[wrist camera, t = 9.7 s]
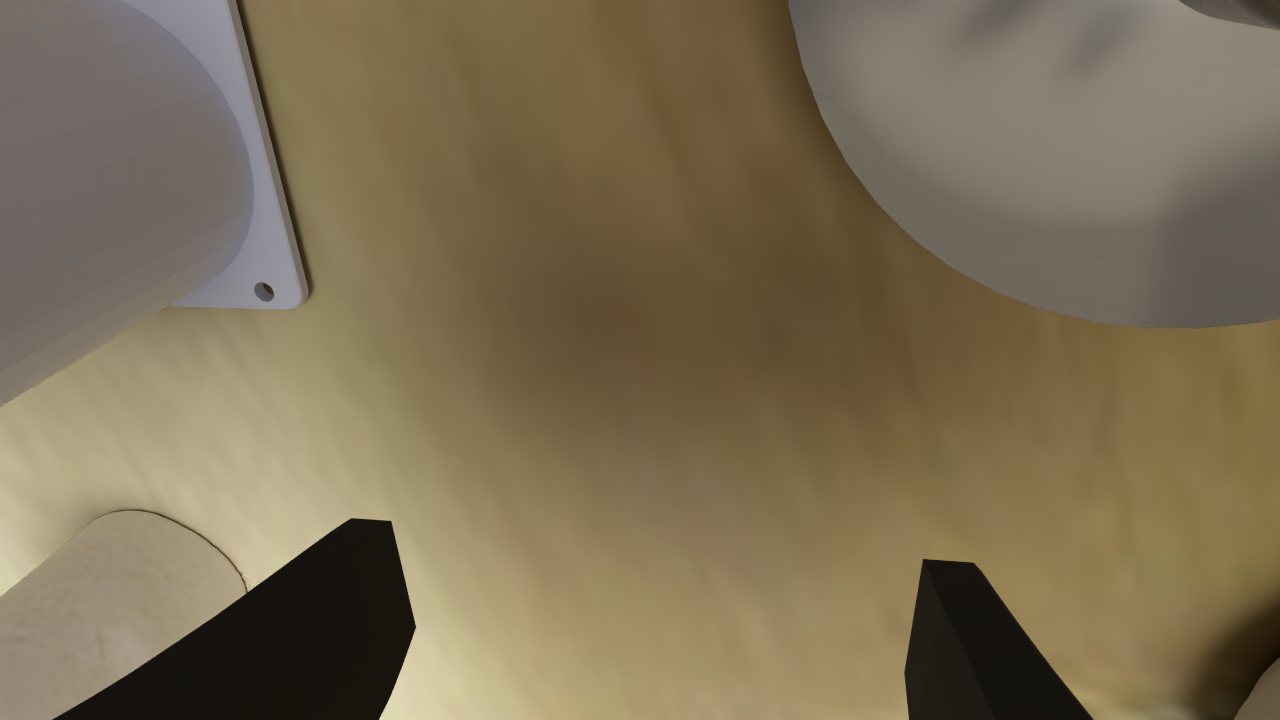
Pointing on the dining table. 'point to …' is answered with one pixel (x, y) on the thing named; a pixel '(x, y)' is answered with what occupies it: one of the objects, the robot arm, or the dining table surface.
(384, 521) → the robot arm
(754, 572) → the dining table surface
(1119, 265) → the steel lid
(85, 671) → the roll
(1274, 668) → the teacup
